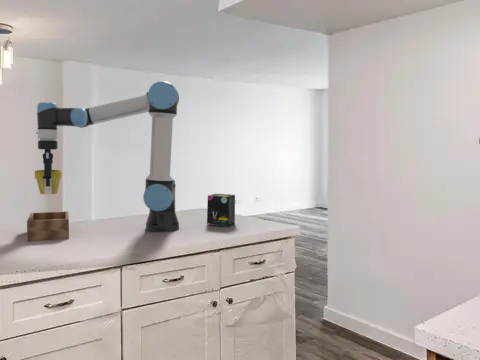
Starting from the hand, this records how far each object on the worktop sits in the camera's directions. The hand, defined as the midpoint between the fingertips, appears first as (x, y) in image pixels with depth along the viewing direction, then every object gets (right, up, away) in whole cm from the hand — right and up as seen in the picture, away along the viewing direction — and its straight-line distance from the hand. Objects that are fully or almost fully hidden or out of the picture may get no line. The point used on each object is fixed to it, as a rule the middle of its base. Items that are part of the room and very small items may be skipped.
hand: (48, 192), depth 193 cm
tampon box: (+71, -16, +30) cm, 79 cm away
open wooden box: (0, -18, +1) cm, 18 cm away
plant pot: (0, 0, 0) cm, 0 cm away
